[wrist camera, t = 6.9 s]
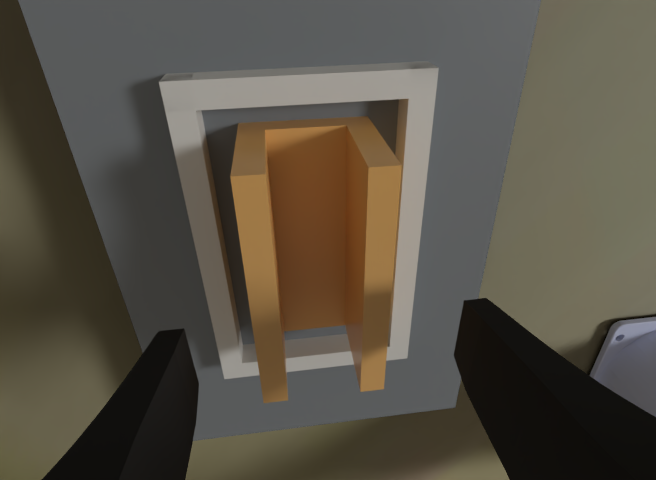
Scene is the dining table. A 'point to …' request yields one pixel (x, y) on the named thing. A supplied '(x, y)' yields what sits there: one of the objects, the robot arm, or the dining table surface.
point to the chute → (317, 237)
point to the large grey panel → (280, 105)
